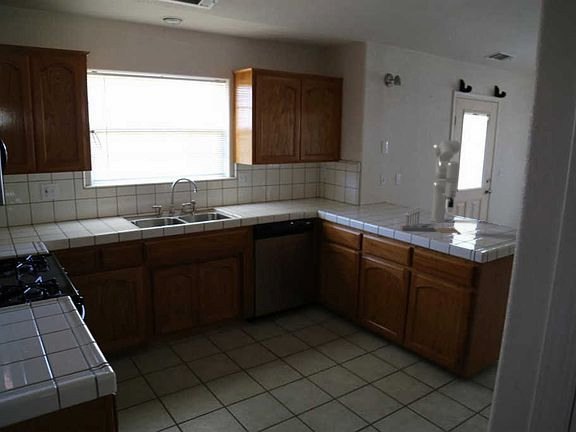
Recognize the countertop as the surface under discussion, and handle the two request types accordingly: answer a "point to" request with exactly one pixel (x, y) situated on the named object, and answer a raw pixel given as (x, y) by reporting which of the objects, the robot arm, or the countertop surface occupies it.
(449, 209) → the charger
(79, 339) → the countertop surface
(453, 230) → the walnut board
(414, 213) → the test tube rack
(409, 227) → the power strip
